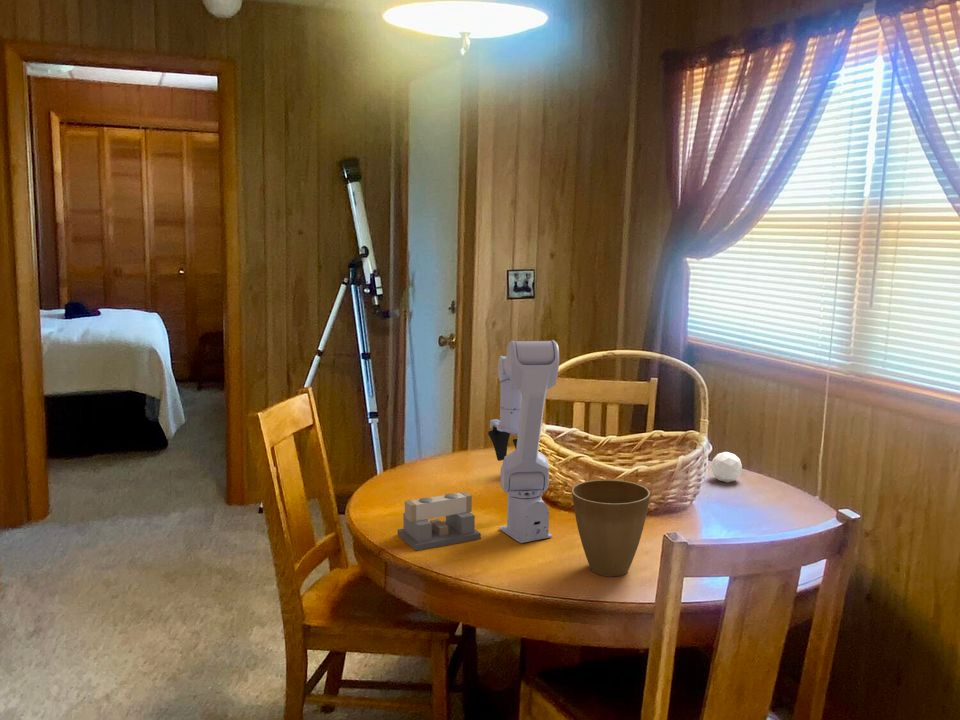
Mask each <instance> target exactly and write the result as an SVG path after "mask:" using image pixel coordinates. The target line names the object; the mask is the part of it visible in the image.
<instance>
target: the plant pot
mask: <svg viewBox="0 0 960 720" xmlns="http://www.w3.org/2000/svg"><path fill="white" fill-rule="evenodd" d="M571 495H572V496H571V497H572V503H573V509H574V510H573V511H574V515H575V520H576V526H577V531H578V535H579V539H580V542H581V544H582V548H583V552H584V554H585V558H586V560H587V563H588V565H589V568H590V570H591V571H592V572H593V573H595V574H597V575H599V576H603V577H619V576H623V575H626V574H627V573H628V572H629V570H630V568H631V566H632V563H633V560H634V559H635V555H636V553H637V550H638V547H639V545H640V540H641V538H642V533H643V531H644V527H645V523H646V520H647V519H646V518H647V514H648V508H649V505H650V496H651V492H650V490H649V489H648V488H647V487H645V486H644V485H641V484H638V483H636V482H631V481H626V480H618V479H596V480H594V479H593V480H587V481H583V482H580V483H578V484H576V485H574V486H573V487H572V489H571Z"/></svg>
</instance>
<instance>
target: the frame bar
mask: <svg viewBox="0 0 960 720" xmlns="http://www.w3.org/2000/svg"><path fill="white" fill-rule="evenodd" d="M472 498H473V497H472V495H471V494H470V493H469V492H467V491H460V492H455V493H447V494H446V493H445V494H444V495H437V496H436V495H435V496H431V497H421V498H419V499H414V500H413V499H412V500H410V499H409V500H404V513H405V518H406V519H408V520H409V521H410V522H414V521H419V520H425V519H427V520H429V519H431V520H432V519H436V518H437V519H438V518H441V517H446V516H448V515H454V514H460V513H466V512H470V513H472V512H473V511H472V509H473V507H472V506H473V501H472V500H473V499H472Z"/></svg>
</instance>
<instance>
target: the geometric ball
mask: <svg viewBox="0 0 960 720" xmlns="http://www.w3.org/2000/svg"><path fill="white" fill-rule="evenodd" d="M710 468H711V472H712V475H713V476H714V477H715V479H717V480H718V481H721V482H725V483H731V482H735V481H736V480H737V479H738V478H739V477H740V476H741V475H742V469H743V465H742V462H741V458H739V456H737V455H736V454H735V453H732V452H728V451H723V452H719V453H717V454H716V455H715V456H714V457H713V458H712V461H711V465H710Z"/></svg>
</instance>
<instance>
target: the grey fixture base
mask: <svg viewBox="0 0 960 720" xmlns="http://www.w3.org/2000/svg"><path fill="white" fill-rule="evenodd" d="M402 515H403V516H402V517H403V528H398V529H397V532H396V533H397V536H398V537H400V539H402V540H403V541H404V542H405V543H406V544H407V545H408V546H410V547H411V548H412V549H413V550H414V551H423V550H428V549H433V548H438V547H444V546H449V545H455V544H460V543H465V542H470V541H476V540H480V539H481V538H482V534H481V532H480V531H479V530H477V529H475V524H476V522H475V515H474V514H473V513H472V512H466V513H460V514H454V515H448V516H445V520H444V521H442V520H440V519H439V518H437V519H436V518H434V519H431V520H429V519H425V520H419V521H414V522H410V521H409V520H408V519H406V518H405V512H404V513H403V514H402Z"/></svg>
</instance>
